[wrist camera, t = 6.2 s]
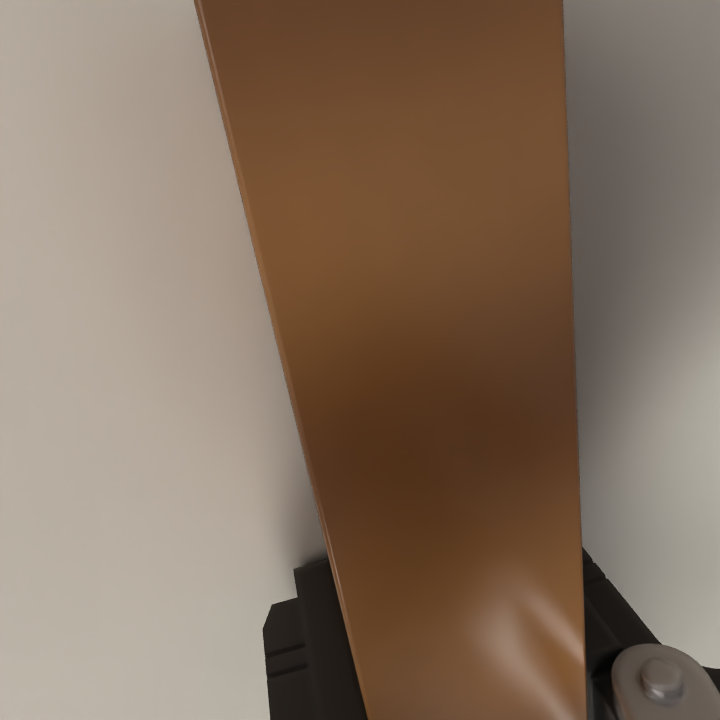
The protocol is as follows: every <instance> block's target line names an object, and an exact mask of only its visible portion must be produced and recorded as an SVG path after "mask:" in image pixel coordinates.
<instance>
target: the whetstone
mask: <svg viewBox="0 0 720 720" xmlns="http://www.w3.org/2000/svg"><path fill="white" fill-rule="evenodd" d="M194 3H195V7H196V11H197V16H198V20H199V24H200V28H201V32H202V36H203V40H204V45H205V49H206V53H207V57H208V61H209V65H210V69H211V73H212V78H213V82H214V86H215V90H216V94H217V98H218V102H219V107H220V111H221V115H222V119H223V123H224V127H225V131H226V135H227V140H228V144H229V148H230V152H231V156H232V160H233V164H234V168H235V173H236V177H237V181H238V185H239V189H240V193H241V197H242V202H243V206H244V210H245V214H246V218H247V222H248V226H249V230H250V235H251V239H252V243H253V247H254V251H255V255H256V259H257V264H258V268H259V272H260V276H261V280H262V284H263V288H264V292H265V297H266V301H267V305H268V309H269V313H270V317H271V321H272V326H273V330H274V334H275V338H276V342H277V346H278V350H279V354H280V359H281V363H282V367H283V371H284V375H285V379H286V383H287V388H288V392H289V396H290V400H291V404H292V408H293V412H294V416H295V421H296V425H297V429H298V433H299V437H300V441H301V445H302V449H303V454H304V458H305V462H306V466H307V470H308V474H309V478H310V483H311V487H312V491H313V495H314V499H315V503H316V507H317V511H318V516H319V520H320V524H321V528H322V532H323V536H324V540H325V545H326V549H327V553H328V557H329V561H330V565H331V569H332V573H333V578H334V582H335V586H336V590H337V594H338V598H339V602H340V607H341V611H342V615H343V619H344V623H345V627H346V631H347V635H348V640H349V644H350V648H351V652H352V656H353V660H354V664H355V669H356V673H357V677H358V681H359V685H360V689H361V693H362V697H363V702H364V706H365V710H366V714H367V718H368V720H588V704H587V676H586V647H585V619H584V590H583V562H582V533H581V505H580V476H579V448H578V419H577V391H576V362H575V334H574V305H573V277H572V248H571V220H570V191H569V163H568V134H567V106H566V77H565V49H564V20H563V0H194Z"/></svg>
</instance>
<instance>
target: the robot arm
mask: <svg viewBox="0 0 720 720" xmlns="http://www.w3.org/2000/svg"><path fill="white" fill-rule="evenodd" d="M582 562H583V590H584V619H585V647H586V676H587V704H588V720H720V669H714V668H708V667H703V666H701V665H700V664H699V663H698V662H697V661H695V660H694V659H693V658H692V657H690V656H689V655H687V654H685V653H684V652H682V651H680V650H677V649H675V648H672V647H669V646H666V645H662V644H661V643H660V642H659V641H658V640H657V639H656V638H655V636H654V635H653V634H652V633H651V631H650V630H649V629H648V628H647V626H646V625H645V624H644V623H643V621H642V620H641V619H640V618H639V616H638V615H637V614H636V613H635V612H634V610H633V609H632V608H631V607H630V605H629V604H628V603H627V602H626V600H625V599H624V598H623V597H622V595H621V594H620V593H619V592H618V590H617V589H616V588H615V587H614V586H613V584H612V583H611V582H610V581H609V579H606V577H605V574H604V573H603V572H602V571H601V569H600V568H599V567H598V566H597V564H596V563H593V561H592V558H591V557H590V556H589V555H588V553H587V552H586V551H585V550H584V548H583V547H582ZM294 577H295V583H296V589H297V595H298V597H297V598H294V599H290V600H287V601H283V602H280V603H276V604H273V605H272V606H271V609H270V611H269V614H268V616H267V619H266V622H265V624H264V627H263V639H264V651H265V657H266V659H265V662H266V674H267V679H268V680H267V685H268V697H269V709H270V720H368V718H367V714H366V710H365V706H364V702H363V697H362V693H361V689H360V685H359V681H358V677H357V673H356V669H355V664H354V660H353V656H352V652H351V648H350V644H349V640H348V635H347V631H346V627H345V623H344V619H343V615H342V611H341V607H340V602H339V598H338V594H337V590H336V586H335V582H334V578H333V573H332V569H331V565H330V561H329V559H327V560H323V561H320V562H316V563H313V564H309V565H305V566H302V567H298V568H295V569H294Z"/></svg>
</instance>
